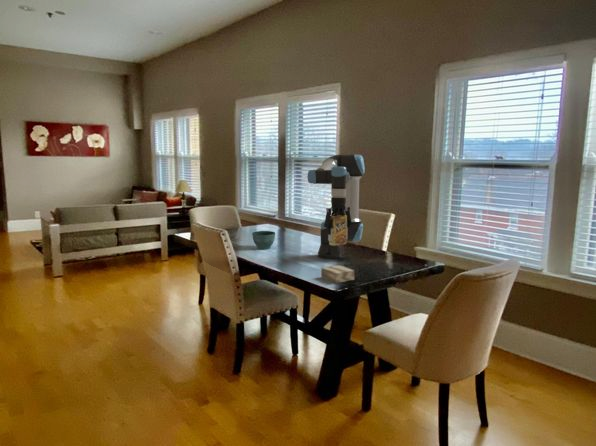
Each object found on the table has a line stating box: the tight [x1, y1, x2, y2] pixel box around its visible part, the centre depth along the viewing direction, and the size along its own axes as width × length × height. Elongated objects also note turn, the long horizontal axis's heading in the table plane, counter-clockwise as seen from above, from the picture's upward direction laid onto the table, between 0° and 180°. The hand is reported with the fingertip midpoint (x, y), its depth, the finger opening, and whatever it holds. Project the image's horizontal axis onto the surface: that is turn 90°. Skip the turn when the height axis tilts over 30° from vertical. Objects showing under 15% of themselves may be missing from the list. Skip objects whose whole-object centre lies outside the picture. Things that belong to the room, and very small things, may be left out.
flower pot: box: [251, 230, 276, 250], centre depth 304 cm, size 16×16×11 cm
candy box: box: [329, 215, 348, 246], centre depth 226 cm, size 9×4×15 cm, turn 125°
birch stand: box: [320, 264, 356, 284], centre depth 230 cm, size 12×13×5 cm
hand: (337, 239), depth 227 cm, fingers closed on candy box, 9 cm apart
